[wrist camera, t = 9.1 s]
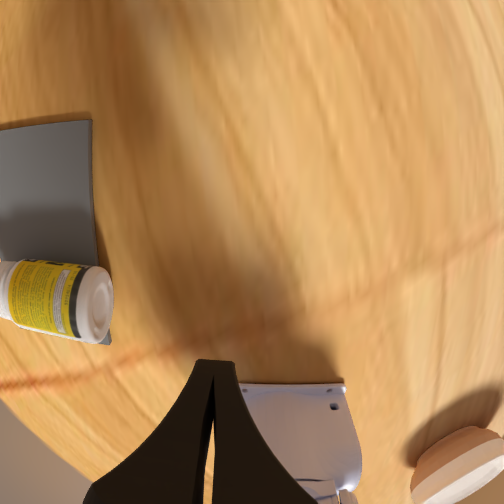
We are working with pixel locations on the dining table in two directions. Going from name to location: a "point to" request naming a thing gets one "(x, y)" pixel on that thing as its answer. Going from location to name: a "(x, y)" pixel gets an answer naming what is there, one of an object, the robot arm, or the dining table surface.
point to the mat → (48, 195)
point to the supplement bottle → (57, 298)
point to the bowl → (457, 466)
